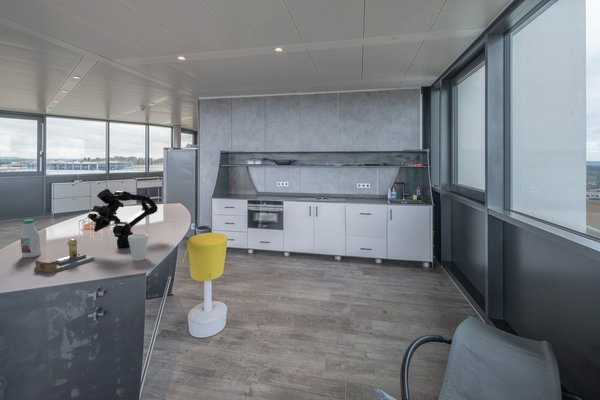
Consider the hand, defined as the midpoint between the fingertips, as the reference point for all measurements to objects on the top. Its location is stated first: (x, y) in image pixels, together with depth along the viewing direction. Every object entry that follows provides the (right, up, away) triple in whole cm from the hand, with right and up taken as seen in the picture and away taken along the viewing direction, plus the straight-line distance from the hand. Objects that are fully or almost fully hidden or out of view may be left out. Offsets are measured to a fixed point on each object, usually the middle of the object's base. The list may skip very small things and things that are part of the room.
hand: (94, 231), depth 168 cm
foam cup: (+26, -15, -3) cm, 30 cm away
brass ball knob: (-5, -13, -13) cm, 19 cm away
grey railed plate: (-5, -15, -14) cm, 21 cm away
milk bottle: (-34, -14, -1) cm, 36 cm away
